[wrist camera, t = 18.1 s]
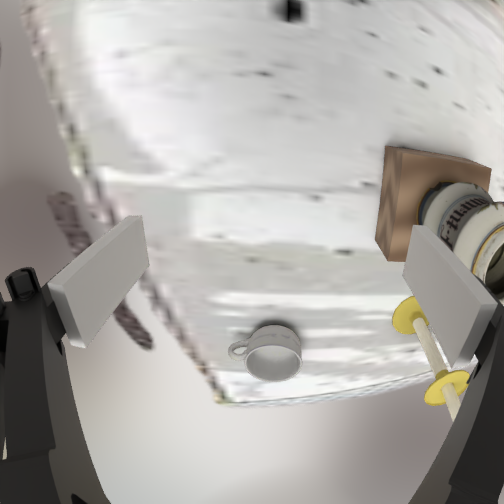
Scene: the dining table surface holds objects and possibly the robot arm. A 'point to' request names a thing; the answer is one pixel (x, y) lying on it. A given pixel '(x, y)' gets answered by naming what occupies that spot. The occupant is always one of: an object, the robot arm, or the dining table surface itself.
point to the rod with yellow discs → (431, 357)
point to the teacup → (270, 354)
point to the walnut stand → (415, 192)
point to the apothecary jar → (468, 228)
